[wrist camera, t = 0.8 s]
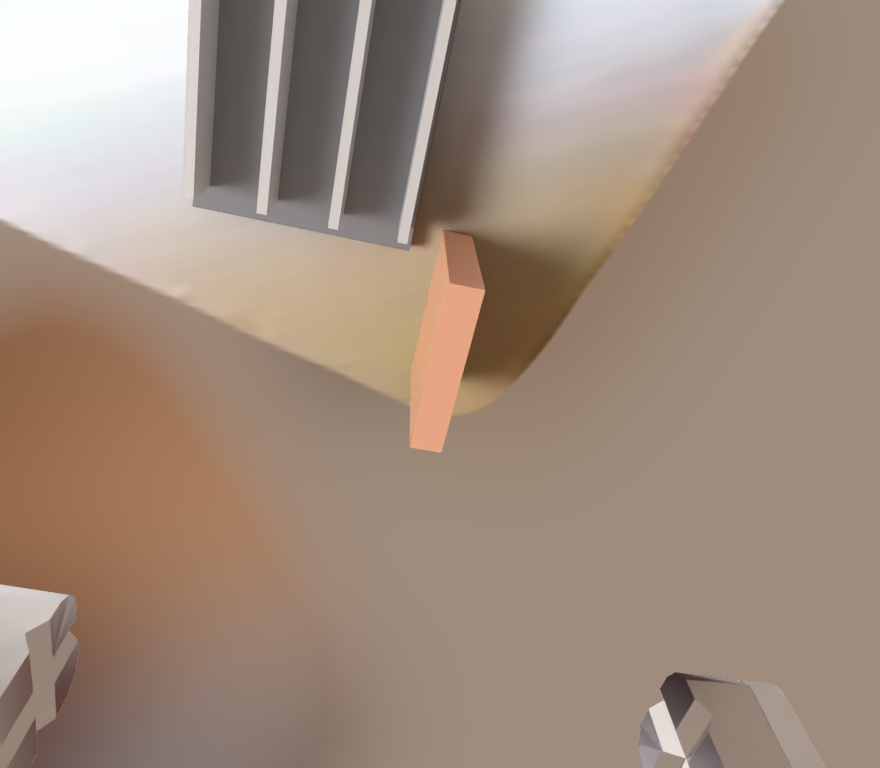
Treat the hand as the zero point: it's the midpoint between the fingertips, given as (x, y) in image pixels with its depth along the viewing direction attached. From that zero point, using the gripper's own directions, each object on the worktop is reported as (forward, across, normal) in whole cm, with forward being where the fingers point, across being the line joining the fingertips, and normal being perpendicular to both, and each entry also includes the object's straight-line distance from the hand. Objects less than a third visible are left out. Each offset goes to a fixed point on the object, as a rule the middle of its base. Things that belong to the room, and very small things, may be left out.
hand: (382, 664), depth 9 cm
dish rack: (+37, +6, -5) cm, 38 cm away
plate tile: (+38, -4, +9) cm, 39 cm away
